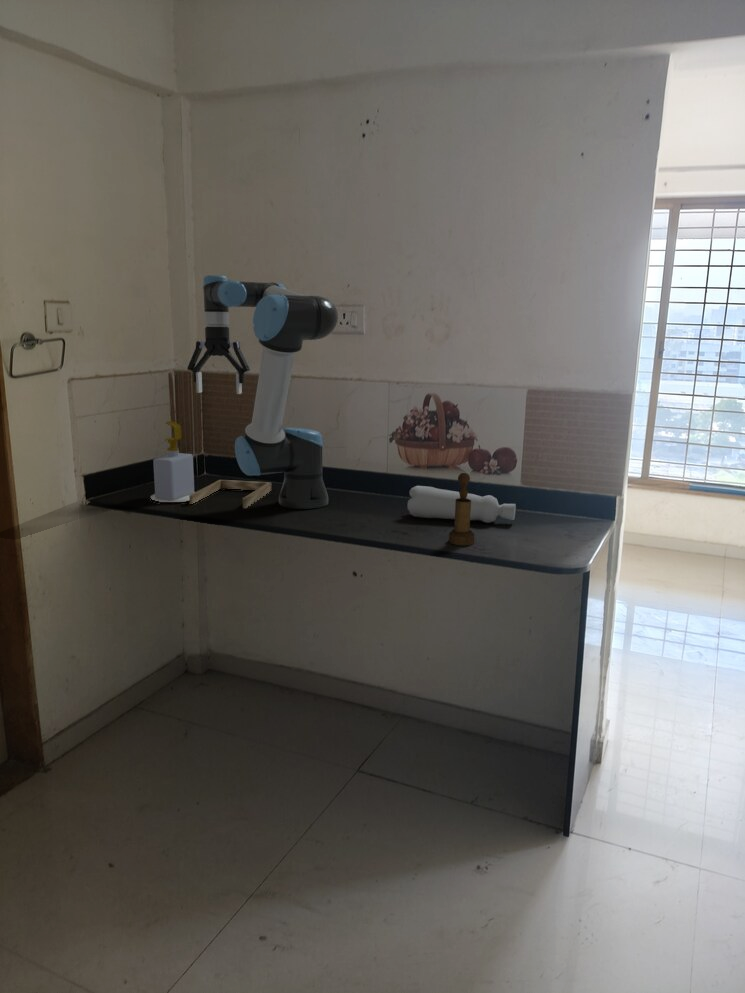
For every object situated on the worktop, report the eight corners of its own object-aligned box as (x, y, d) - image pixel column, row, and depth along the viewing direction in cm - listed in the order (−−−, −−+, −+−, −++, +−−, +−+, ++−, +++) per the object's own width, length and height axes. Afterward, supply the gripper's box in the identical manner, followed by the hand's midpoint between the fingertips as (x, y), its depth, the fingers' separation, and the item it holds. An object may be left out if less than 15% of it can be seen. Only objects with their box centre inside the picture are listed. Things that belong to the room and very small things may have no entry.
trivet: (207, 494, 246) (207, 492, 246) (187, 505, 231) (187, 502, 231) (163, 492, 249) (163, 489, 248) (141, 502, 234) (141, 500, 234)
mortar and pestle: (476, 545, 193) (479, 475, 189) (451, 545, 193) (453, 476, 189) (471, 538, 200) (474, 470, 196) (446, 538, 199) (449, 470, 195)
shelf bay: (271, 491, 251) (271, 482, 251) (246, 508, 228) (245, 498, 228) (220, 488, 255) (219, 479, 254) (189, 504, 232) (189, 495, 231)
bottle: (404, 509, 216) (511, 521, 208) (410, 480, 219) (516, 490, 211) (410, 520, 224) (513, 532, 216) (415, 491, 227) (517, 502, 219)
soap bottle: (177, 491, 246) (174, 418, 241) (195, 493, 244) (192, 420, 239) (154, 499, 235) (150, 423, 230) (172, 501, 233) (168, 424, 228)
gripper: (258, 326, 244) (259, 393, 249) (185, 325, 248) (188, 391, 253) (250, 326, 237) (252, 395, 241) (175, 325, 241) (178, 393, 246)
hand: (219, 393), depth 247 cm, fingers open, 13 cm apart
